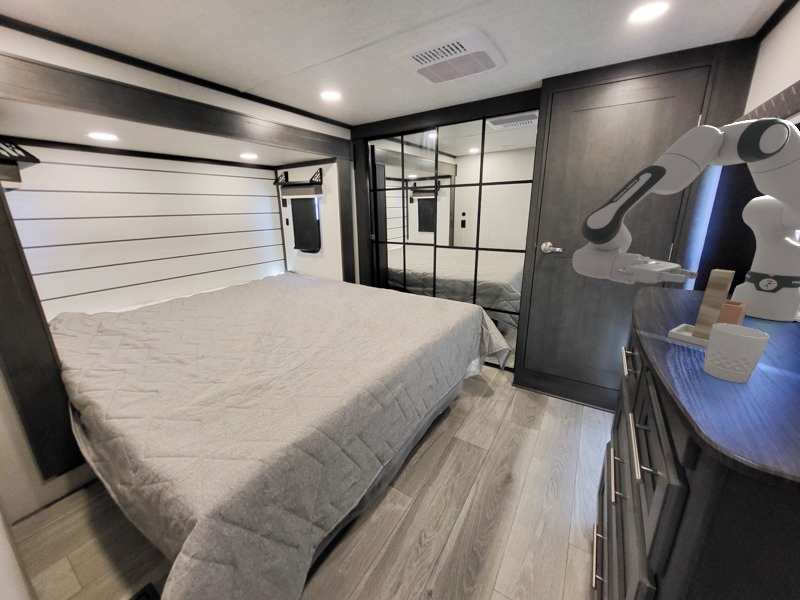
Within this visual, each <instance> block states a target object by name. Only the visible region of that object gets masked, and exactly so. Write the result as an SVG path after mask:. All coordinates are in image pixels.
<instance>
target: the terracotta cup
mask: <svg viewBox="0 0 800 600" xmlns="http://www.w3.org/2000/svg"><path fill="white" fill-rule="evenodd" d="M748 306H749V303H744V302H738V301H732V300H731V299H727V298H726V301H725V304H724V307H723V310H722V313H721V316H720V319H719V322H718V323H724V324H733V325H739V326H743V322H744V320H745V318H746V317H745V316H746V315H745V314H746V311H747V309H748Z"/></svg>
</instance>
